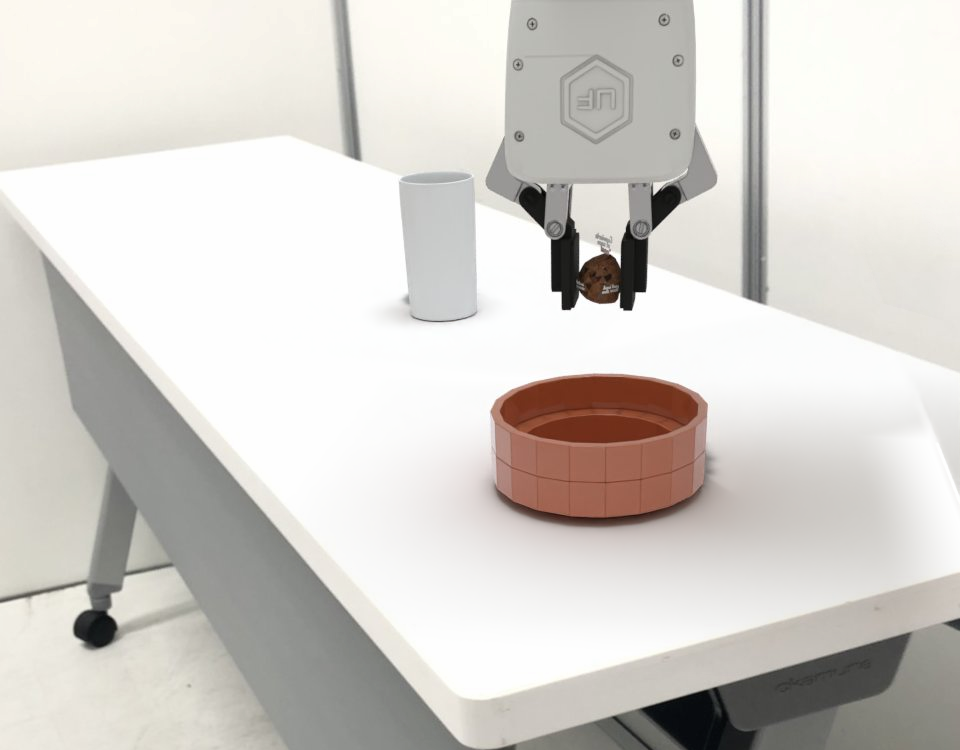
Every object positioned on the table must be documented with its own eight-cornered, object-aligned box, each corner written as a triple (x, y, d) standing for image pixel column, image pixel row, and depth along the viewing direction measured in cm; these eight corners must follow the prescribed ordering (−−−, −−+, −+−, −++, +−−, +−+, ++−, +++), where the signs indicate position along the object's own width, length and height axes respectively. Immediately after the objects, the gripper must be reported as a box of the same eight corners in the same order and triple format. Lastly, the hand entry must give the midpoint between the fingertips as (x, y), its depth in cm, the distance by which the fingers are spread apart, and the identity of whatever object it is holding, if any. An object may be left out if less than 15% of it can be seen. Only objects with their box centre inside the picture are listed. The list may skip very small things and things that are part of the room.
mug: (467, 323, 110) (461, 184, 104) (397, 321, 111) (387, 183, 105) (497, 295, 118) (493, 164, 112) (432, 293, 120) (424, 164, 114)
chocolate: (566, 301, 72) (566, 232, 70) (598, 295, 73) (599, 227, 71) (591, 313, 70) (592, 241, 68) (624, 307, 70) (626, 236, 68)
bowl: (705, 447, 81) (709, 374, 79) (701, 530, 70) (705, 449, 68) (511, 442, 84) (509, 371, 81) (477, 522, 72) (473, 443, 70)
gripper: (432, -48, 60) (451, 321, 69) (767, -63, 57) (740, 324, 67) (461, -51, 67) (475, 287, 76) (763, -64, 64) (739, 289, 73)
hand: (599, 301), depth 71 cm, fingers closed on chocolate, 2 cm apart
